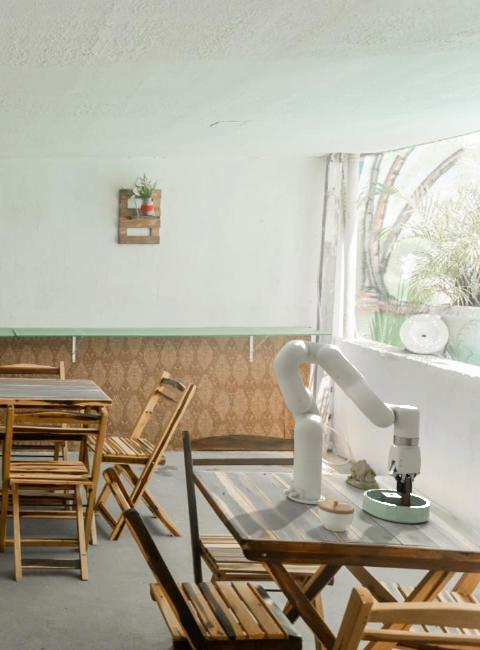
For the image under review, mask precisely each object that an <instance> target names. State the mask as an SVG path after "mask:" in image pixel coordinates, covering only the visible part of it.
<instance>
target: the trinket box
mask: <svg viewBox="0 0 480 650" xmlns="http://www.w3.org/2000/svg"><path fill="white" fill-rule="evenodd" d="M354 513H355V508H354V506H353V505H351V504H350V503H346V502H343V501H338V500H337V499H334V500H331V499H327V500H326V499H325V500H323V501H319V502H318V504H317V516H318V519H319V521H320V522H321V524H322V525H323V526H324V528H325V529H327V530H328V531H331V532H339V533H341V532H345V531H346V530H347V529H349V528H350V526H351V525H352V524H353V521H354Z"/></svg>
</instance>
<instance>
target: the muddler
mask: <svg viewBox="0 0 480 650" xmlns="http://www.w3.org/2000/svg"><path fill="white" fill-rule="evenodd" d="M404 483H406V492H405V494H402V493H401V505H400V504H399V506H405V507H413V506H412V505H411V499H410V494H411V493H410V477H406V476H405V481H404Z"/></svg>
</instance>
